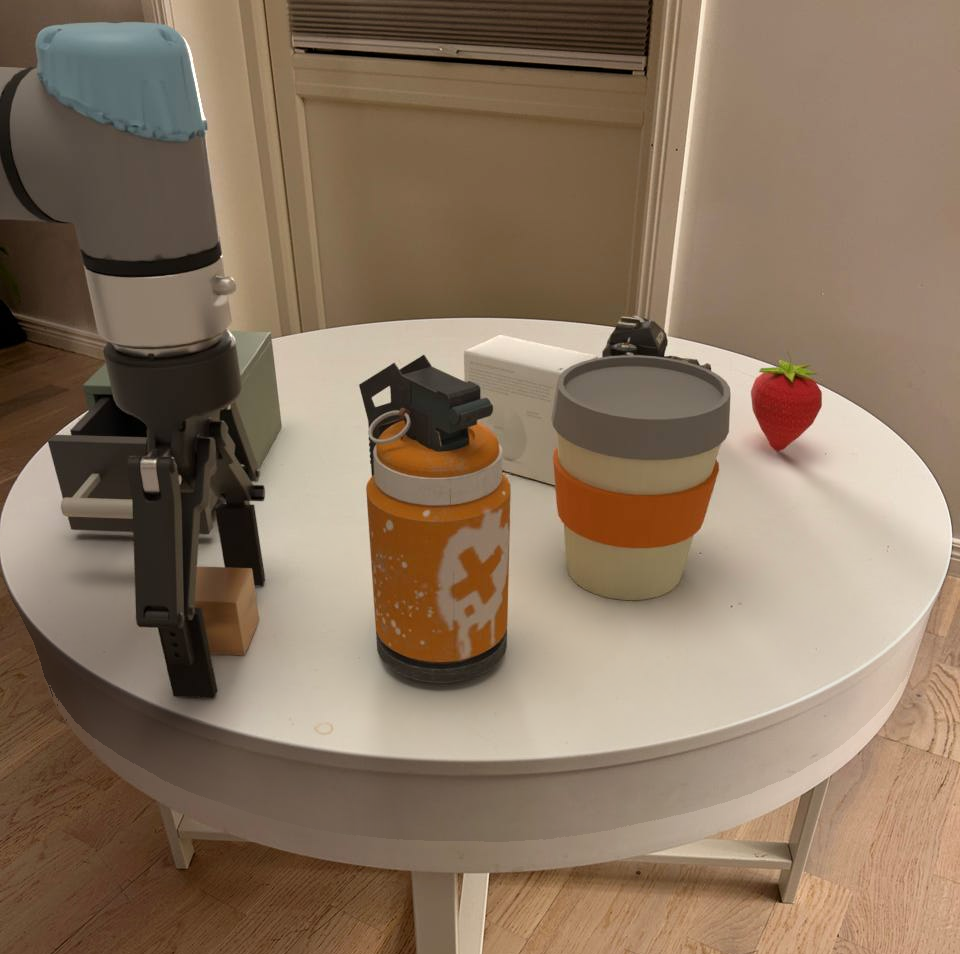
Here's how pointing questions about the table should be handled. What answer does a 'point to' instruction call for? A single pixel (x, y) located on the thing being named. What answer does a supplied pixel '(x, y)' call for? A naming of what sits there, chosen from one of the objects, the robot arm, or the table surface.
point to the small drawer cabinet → (255, 397)
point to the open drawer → (103, 469)
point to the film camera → (640, 340)
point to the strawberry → (785, 402)
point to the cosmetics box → (521, 399)
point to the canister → (436, 525)
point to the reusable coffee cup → (635, 468)
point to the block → (227, 608)
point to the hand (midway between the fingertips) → (223, 634)
